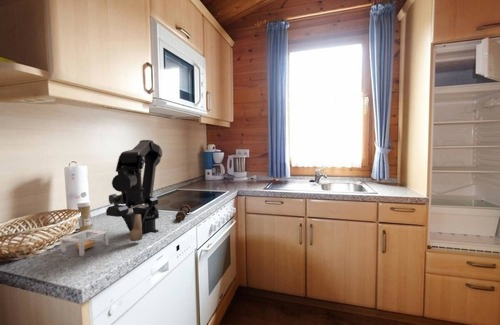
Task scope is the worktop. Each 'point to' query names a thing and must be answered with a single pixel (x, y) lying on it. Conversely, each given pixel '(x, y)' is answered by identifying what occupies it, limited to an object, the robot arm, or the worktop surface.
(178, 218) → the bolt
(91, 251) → the white mini table
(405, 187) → the worktop surface
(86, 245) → the orange square block
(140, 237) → the walnut cylinder
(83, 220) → the sprinkles bottle
